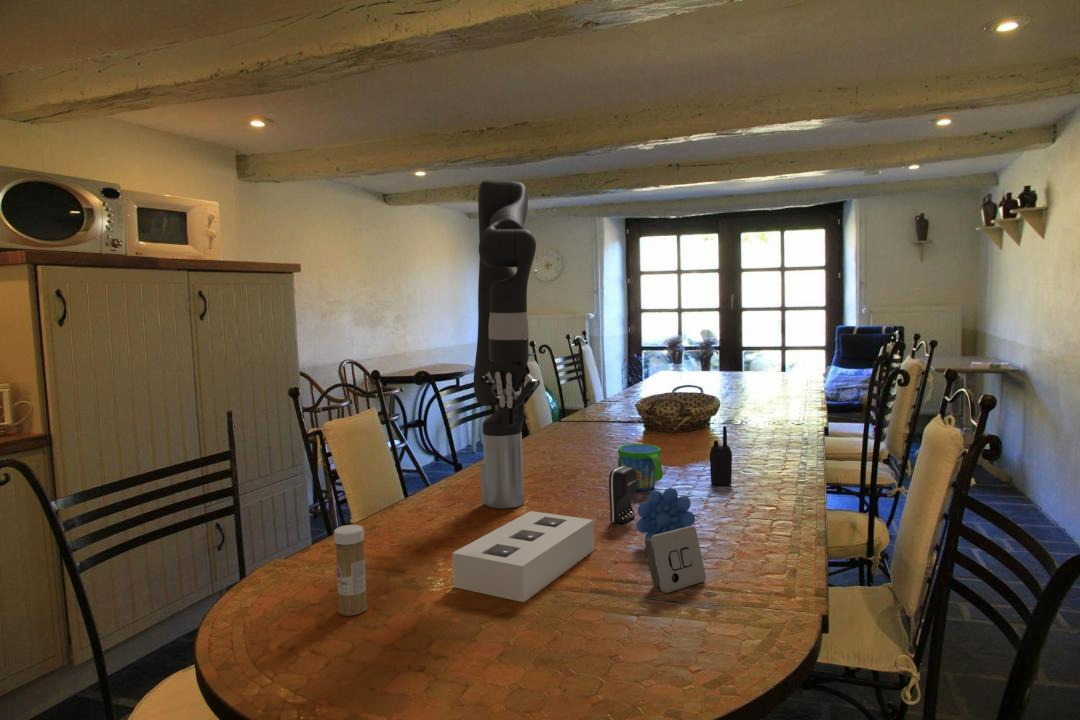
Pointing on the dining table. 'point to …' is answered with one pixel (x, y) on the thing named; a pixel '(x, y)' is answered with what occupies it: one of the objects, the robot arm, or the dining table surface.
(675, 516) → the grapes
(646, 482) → the snack cup
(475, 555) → the knob panel
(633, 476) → the battery charger
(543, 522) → the knob
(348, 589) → the sprinkles bottle
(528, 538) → the knob
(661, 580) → the electrical switch
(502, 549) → the knob
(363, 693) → the dining table surface
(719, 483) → the two-way radio
